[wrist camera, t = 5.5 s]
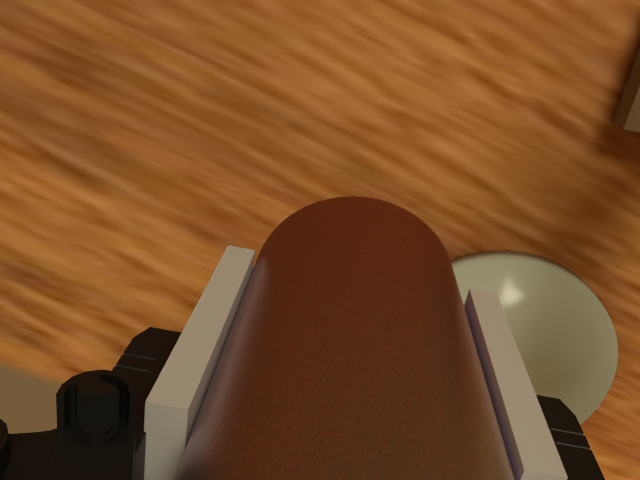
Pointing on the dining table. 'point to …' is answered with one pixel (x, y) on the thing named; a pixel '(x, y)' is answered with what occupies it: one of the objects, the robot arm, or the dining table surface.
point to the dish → (549, 324)
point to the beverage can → (349, 360)
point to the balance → (630, 101)
